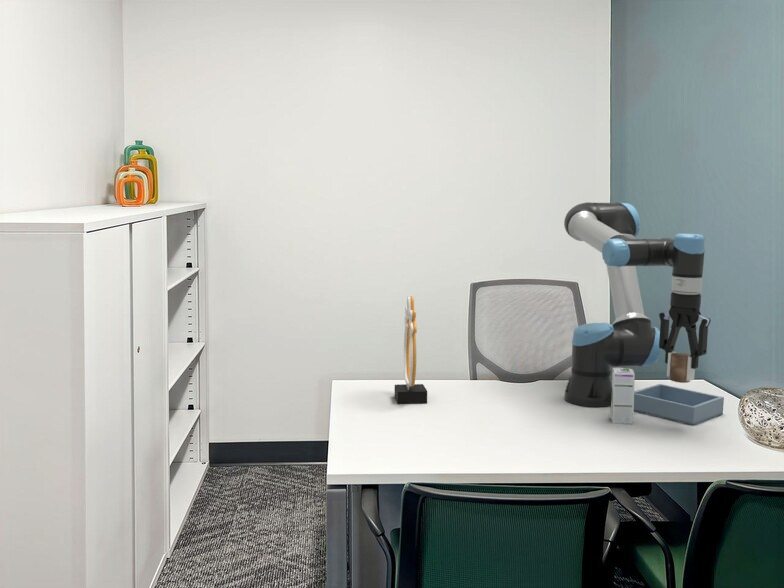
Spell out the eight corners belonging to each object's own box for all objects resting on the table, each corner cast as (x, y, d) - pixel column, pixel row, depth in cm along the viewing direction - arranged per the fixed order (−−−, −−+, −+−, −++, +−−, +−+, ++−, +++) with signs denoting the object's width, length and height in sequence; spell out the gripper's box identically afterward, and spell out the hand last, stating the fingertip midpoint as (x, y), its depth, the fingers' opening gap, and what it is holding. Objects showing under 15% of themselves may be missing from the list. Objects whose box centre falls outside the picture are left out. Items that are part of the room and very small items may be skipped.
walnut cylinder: (666, 379, 208) (668, 354, 207) (676, 377, 211) (678, 352, 210) (683, 383, 204) (685, 357, 203) (693, 380, 208) (695, 355, 207)
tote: (628, 409, 226) (629, 392, 225) (659, 399, 237) (660, 383, 236) (693, 425, 211) (694, 407, 210) (722, 414, 222) (723, 397, 221)
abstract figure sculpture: (429, 407, 226) (430, 300, 222) (399, 407, 225) (400, 300, 221) (421, 392, 243) (422, 292, 238) (393, 393, 242) (394, 292, 238)
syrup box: (633, 424, 211) (636, 372, 209) (611, 423, 212) (613, 371, 210) (631, 418, 217) (634, 368, 215) (609, 417, 218) (612, 366, 216)
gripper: (647, 289, 209) (642, 373, 212) (711, 297, 195) (705, 387, 199) (662, 287, 214) (657, 369, 217) (726, 295, 200) (719, 382, 204)
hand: (680, 377), depth 208 cm, fingers closed on walnut cylinder, 5 cm apart
